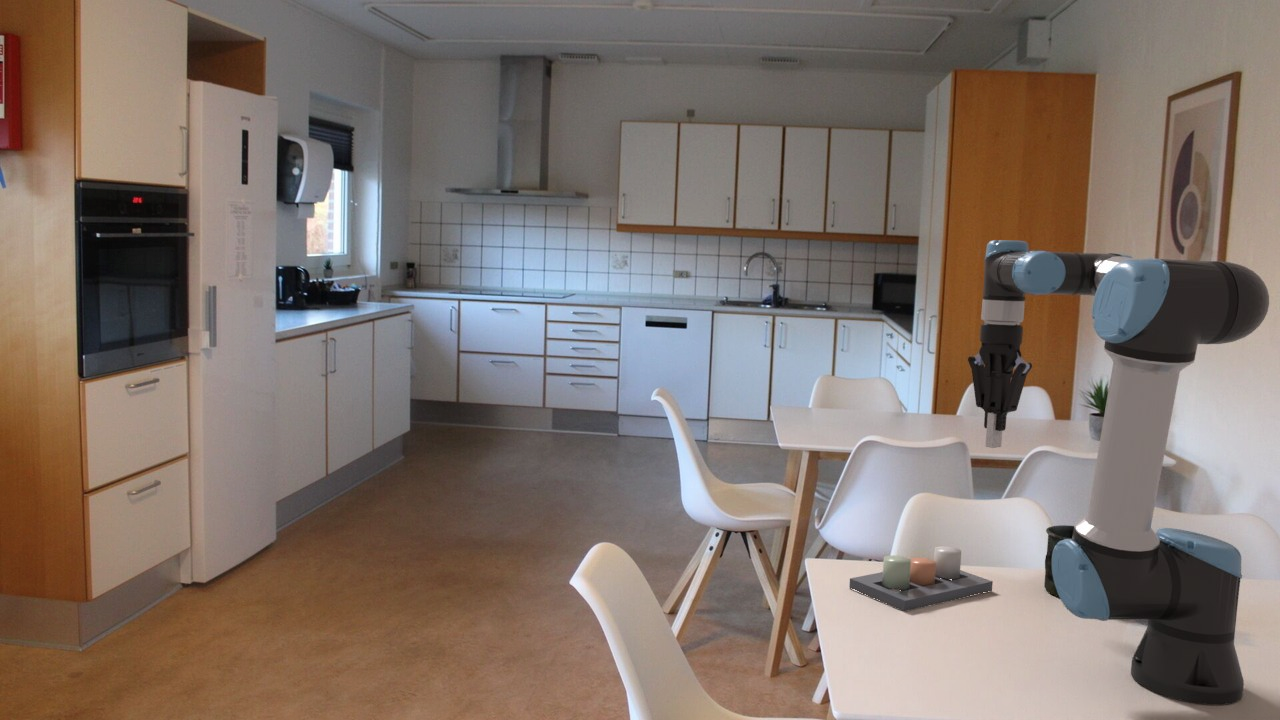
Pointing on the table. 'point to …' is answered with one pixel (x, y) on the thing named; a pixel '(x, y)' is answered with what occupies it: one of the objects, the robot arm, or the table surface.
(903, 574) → the sage button
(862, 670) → the table surface
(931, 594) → the button board
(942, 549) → the grey button
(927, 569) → the terracotta button
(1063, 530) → the mug
